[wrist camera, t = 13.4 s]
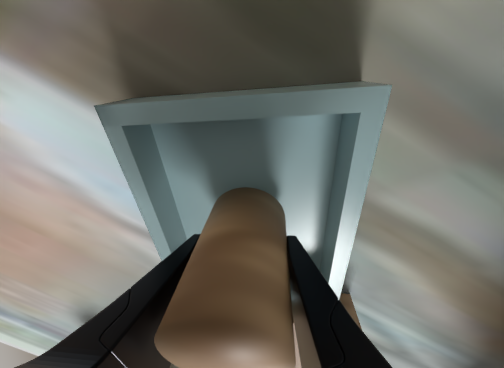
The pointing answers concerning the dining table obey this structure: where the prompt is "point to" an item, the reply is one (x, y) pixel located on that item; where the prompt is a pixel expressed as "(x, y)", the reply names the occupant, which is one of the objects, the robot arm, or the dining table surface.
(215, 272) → the dowel
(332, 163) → the tray
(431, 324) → the dining table surface
